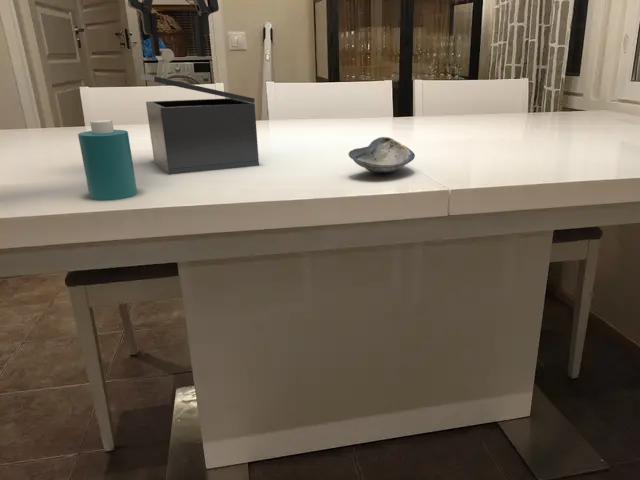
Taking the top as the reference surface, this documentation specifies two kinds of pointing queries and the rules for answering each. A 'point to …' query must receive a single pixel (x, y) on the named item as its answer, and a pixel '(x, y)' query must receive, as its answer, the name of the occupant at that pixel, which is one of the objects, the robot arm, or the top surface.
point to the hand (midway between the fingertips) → (179, 56)
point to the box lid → (168, 56)
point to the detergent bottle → (107, 162)
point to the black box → (203, 134)
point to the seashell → (382, 155)
